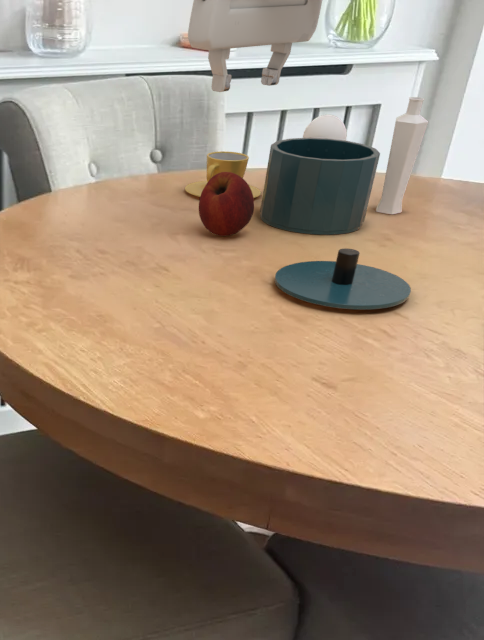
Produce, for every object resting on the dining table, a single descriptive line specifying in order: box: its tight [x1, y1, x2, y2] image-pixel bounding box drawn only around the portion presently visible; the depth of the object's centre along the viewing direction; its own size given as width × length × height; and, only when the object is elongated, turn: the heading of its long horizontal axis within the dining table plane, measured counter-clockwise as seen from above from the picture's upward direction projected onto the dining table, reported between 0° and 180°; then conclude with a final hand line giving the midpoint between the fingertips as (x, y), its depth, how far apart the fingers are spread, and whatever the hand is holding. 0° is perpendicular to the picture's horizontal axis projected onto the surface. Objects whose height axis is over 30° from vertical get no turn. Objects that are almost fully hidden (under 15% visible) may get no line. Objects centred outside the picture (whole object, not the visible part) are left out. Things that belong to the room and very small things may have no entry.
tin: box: [259, 137, 381, 236], centre depth 125 cm, size 15×15×10 cm
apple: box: [198, 172, 255, 237], centre depth 119 cm, size 7×8×8 cm
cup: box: [184, 150, 262, 199], centre depth 137 cm, size 12×12×5 cm
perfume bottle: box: [375, 96, 429, 215], centre depth 128 cm, size 5×4×15 cm
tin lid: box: [274, 248, 412, 311], centre depth 103 cm, size 16×16×5 cm
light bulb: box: [302, 114, 348, 141], centre depth 137 cm, size 7×7×11 cm
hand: (245, 87), depth 110 cm, fingers open, 8 cm apart
